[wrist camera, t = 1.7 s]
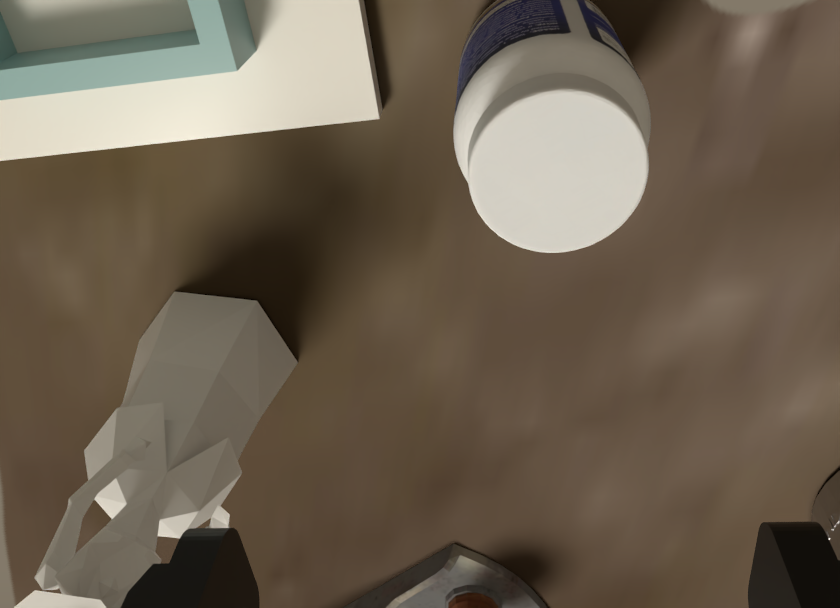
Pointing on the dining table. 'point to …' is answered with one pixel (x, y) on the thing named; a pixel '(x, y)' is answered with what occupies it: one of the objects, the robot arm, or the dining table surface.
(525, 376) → the dining table surface
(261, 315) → the figurine
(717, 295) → the dining table surface
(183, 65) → the socket holder
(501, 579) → the hand plane
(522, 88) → the pill bottle
